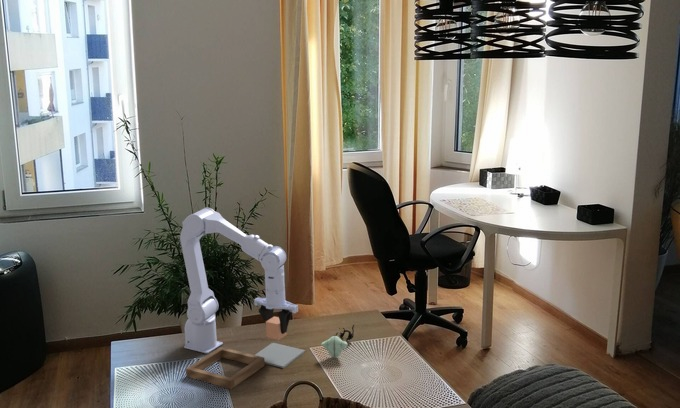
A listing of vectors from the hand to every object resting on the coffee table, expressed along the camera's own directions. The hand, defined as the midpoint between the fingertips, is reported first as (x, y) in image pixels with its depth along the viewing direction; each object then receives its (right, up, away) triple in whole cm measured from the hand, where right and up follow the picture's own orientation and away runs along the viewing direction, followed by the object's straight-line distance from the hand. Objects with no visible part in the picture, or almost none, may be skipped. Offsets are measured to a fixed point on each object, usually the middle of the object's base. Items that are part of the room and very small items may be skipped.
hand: (276, 330), depth 205 cm
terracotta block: (0, -1, 0) cm, 2 cm away
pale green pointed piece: (+17, -8, 0) cm, 19 cm away
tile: (0, -8, +2) cm, 8 cm away
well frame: (-14, -10, -7) cm, 19 cm away
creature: (+20, -6, +12) cm, 24 cm away
